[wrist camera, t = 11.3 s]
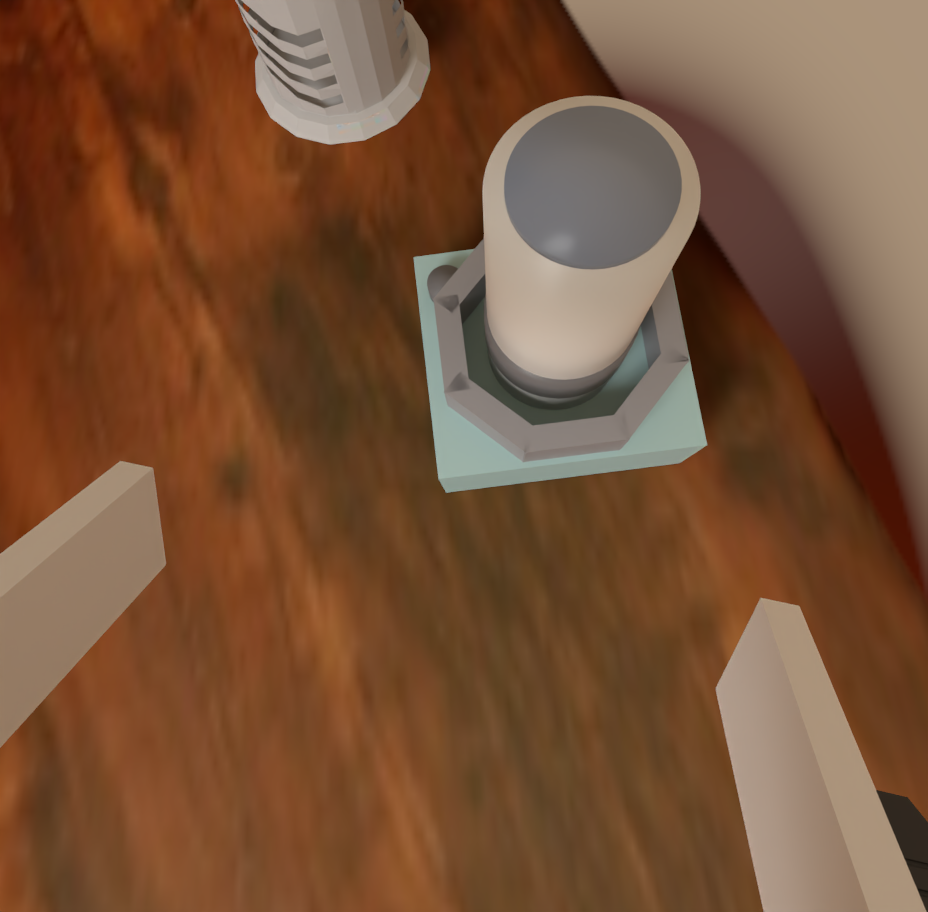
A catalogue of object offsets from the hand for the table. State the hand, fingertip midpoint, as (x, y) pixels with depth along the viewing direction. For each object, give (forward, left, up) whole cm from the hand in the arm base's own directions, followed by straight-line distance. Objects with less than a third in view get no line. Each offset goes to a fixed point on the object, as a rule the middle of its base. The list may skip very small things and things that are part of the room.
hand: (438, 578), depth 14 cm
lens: (-9, +5, -12) cm, 16 cm away
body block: (-9, +5, -16) cm, 19 cm away
